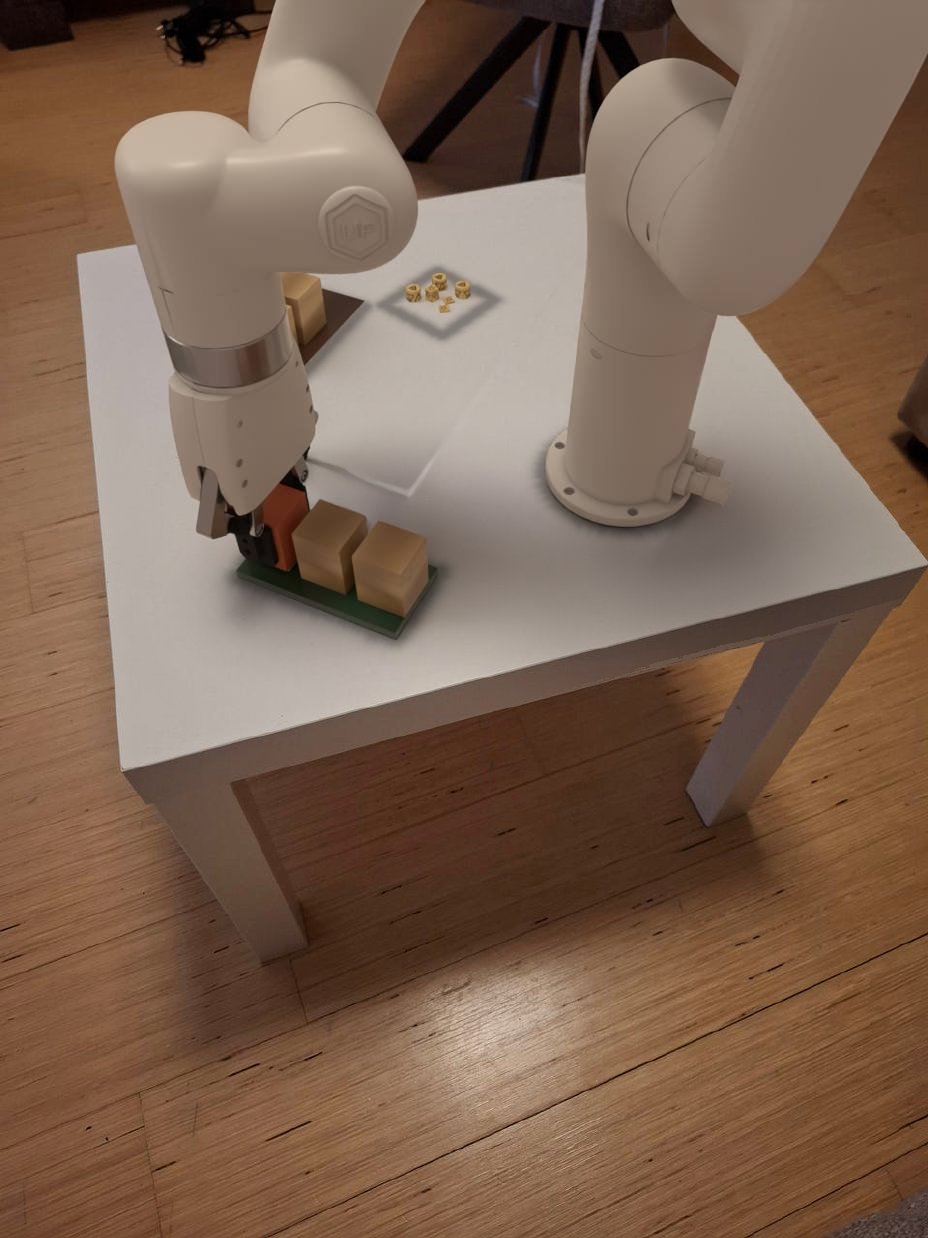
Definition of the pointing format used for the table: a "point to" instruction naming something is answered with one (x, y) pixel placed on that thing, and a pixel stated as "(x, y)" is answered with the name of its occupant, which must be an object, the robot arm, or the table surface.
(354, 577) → the green board with cubes
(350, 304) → the far board with cubes
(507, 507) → the table surface
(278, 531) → the orange upright block
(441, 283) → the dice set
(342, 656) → the table surface
